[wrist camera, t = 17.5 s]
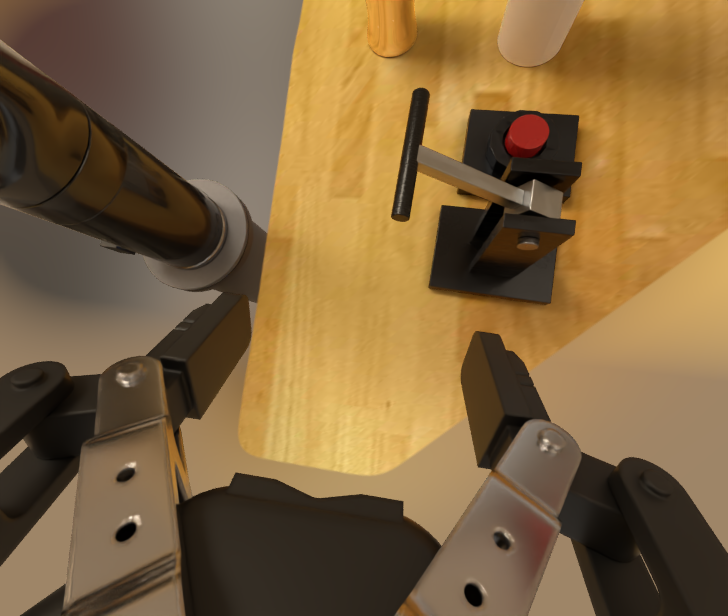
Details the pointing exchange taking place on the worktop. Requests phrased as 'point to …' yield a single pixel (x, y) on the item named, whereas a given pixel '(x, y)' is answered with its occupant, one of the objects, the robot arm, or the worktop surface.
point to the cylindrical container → (535, 29)
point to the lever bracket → (504, 241)
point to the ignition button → (526, 136)
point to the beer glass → (391, 26)
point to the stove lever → (462, 175)
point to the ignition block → (490, 133)
